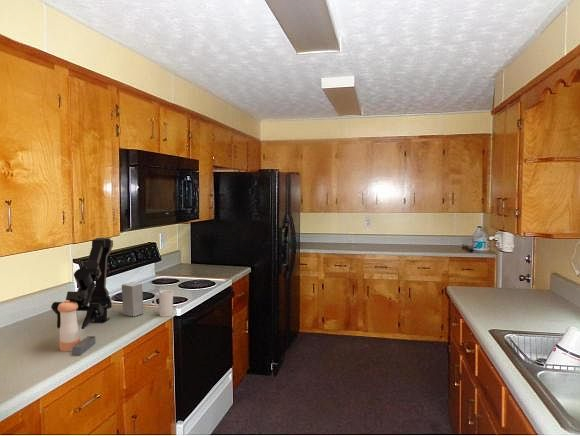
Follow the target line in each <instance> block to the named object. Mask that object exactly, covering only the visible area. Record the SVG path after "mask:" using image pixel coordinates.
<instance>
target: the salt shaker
mask: <svg viewBox="0 0 580 436" xmlns="http://www.w3.org/2000/svg"><path fill="white" fill-rule="evenodd" d="M61 302H62V303H60V304H59V306H58V311H59V312H60V318H61V324H60V328H59V341H58V342H59V344H58V346H59V351H60V352H65V353H66V352H73V347H74V346H75V345H76V344H78V343H79V342H81V336H80V328H79V323H78V319H77V311H76V310H77V308H78V304H77V303H76V302H74V301H70V300H66V299H65V301H61Z"/></svg>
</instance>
